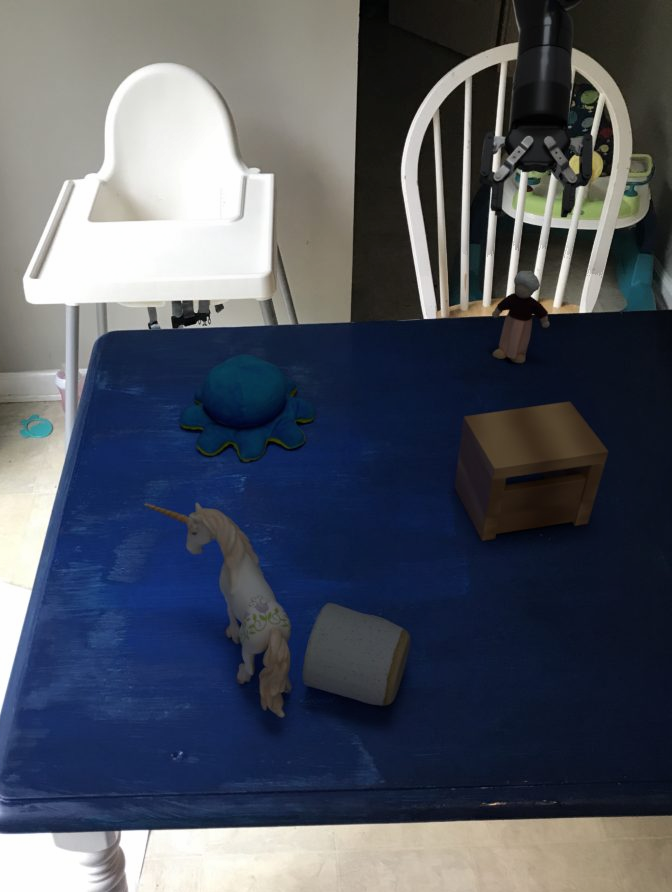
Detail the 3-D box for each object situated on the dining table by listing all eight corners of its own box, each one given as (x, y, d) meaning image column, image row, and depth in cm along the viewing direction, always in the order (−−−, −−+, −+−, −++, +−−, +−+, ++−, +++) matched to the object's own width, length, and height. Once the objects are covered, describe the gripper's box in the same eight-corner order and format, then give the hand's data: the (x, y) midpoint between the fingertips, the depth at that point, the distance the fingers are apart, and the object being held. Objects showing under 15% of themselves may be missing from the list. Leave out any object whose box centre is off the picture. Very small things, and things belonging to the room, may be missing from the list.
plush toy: (162, 452, 102) (153, 395, 96) (206, 376, 114) (199, 322, 108) (295, 469, 98) (293, 411, 93) (325, 390, 110) (325, 334, 105)
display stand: (553, 472, 96) (570, 401, 90) (588, 524, 90) (608, 451, 83) (454, 487, 95) (463, 416, 88) (482, 541, 88) (494, 468, 82)
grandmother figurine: (483, 360, 114) (496, 274, 106) (487, 346, 117) (500, 261, 109) (540, 368, 113) (558, 281, 104) (543, 353, 115) (560, 268, 107)
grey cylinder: (390, 727, 72) (395, 671, 67) (300, 701, 74) (299, 646, 69) (418, 636, 79) (424, 581, 74) (336, 616, 81) (337, 561, 76)
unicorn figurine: (223, 570, 87) (210, 471, 78) (340, 694, 75) (341, 594, 66) (163, 602, 84) (143, 503, 75) (275, 736, 72) (267, 637, 63)
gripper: (590, 110, 113) (581, 227, 112) (483, 108, 115) (473, 223, 114) (603, 78, 105) (593, 204, 105) (488, 77, 107) (478, 200, 107)
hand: (531, 214), depth 109 cm, fingers open, 8 cm apart
